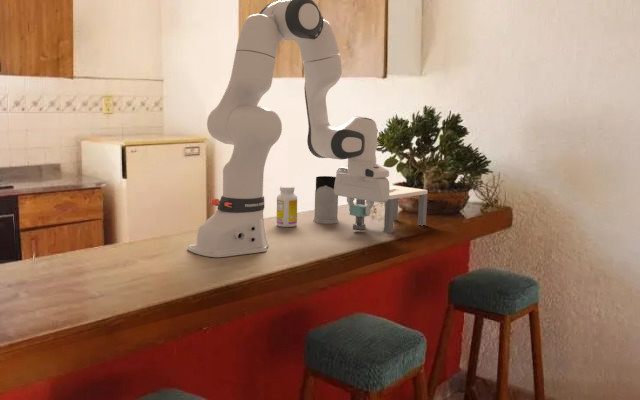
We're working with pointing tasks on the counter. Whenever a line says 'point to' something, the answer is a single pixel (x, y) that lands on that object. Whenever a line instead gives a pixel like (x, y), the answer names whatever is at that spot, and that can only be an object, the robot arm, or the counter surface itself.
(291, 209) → the supplement bottle
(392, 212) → the keyhole bracket
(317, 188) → the glass holder
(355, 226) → the keyhole peg
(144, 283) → the counter surface
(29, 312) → the counter surface
